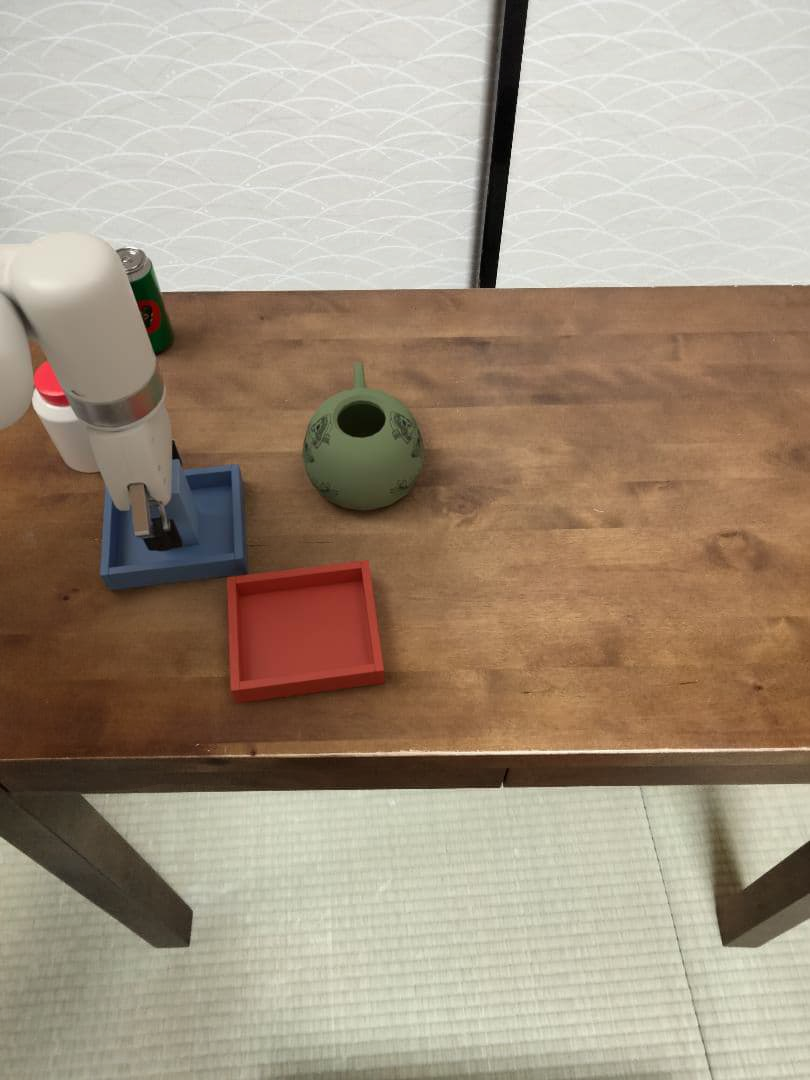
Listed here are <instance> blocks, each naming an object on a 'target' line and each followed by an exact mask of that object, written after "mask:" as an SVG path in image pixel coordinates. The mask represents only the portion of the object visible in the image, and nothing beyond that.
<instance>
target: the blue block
mask: <svg viewBox="0 0 810 1080" xmlns="http://www.w3.org/2000/svg"><path fill="white" fill-rule="evenodd" d="M183 470H184V469H183V465H182V466H181V463H180V461H179V459H175V460H172V490H171V499H170V501H169V502H168V504H167V510H168V515H169V519H172V520H174V522H175V525H176V527H177V529H178V532H179V534H180V536H181V539H182V546H187V545H196V544H199V511H198V508H197V506H196V503H195V501H194V498H193V495H192V493H191V490H190V487H189V485H188V482H187V479H186V477H185V474H184V471H183ZM147 492H148V497H151V496H150V494H149V491H148V490H147ZM149 509H150V517H151V518H160V514H159V509H158V506H151V507H149Z"/></svg>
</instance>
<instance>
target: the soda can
mask: <svg viewBox="0 0 810 1080" xmlns="http://www.w3.org/2000/svg"><path fill="white" fill-rule="evenodd" d="M114 250H115V251H116V252H117V254H118V255H119V257H120V259H121V261H122V264H123V266H124V268H125V271H126V274H127V277H128V280H129V282H130V285H131V288H132V291H133V294H134V297H135V300H136V302H137V305H138V308H139V311H140V314H141V317H142V320H143V322H144V325H145V328H146V331H147V334H148V337H149V340H150V342H151V345H152V348H153V351H154V354H158V353H162V352H163V351H165V350H166V349H168V348H169V347H170V346H171V344H172V343H173V342H174V340H175V331H174V329H173V325H172V322H171V319H170V315H169V312H168V309H167V306H166V302H165V300H164V296H163V293H162V290H161V287H160V284H159V281H158V278H157V274H156V271H155V268H154V265H153V262H152V260H151V259H150V258H149V257H148V256H147V255H146V253H145V251H144V250H143V249H140V248H139V247H135V246H124V247H119V248H118V249H117V248H116V249H114Z"/></svg>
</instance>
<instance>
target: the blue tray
mask: <svg viewBox="0 0 810 1080" xmlns="http://www.w3.org/2000/svg"><path fill="white" fill-rule="evenodd" d="M183 471H184V474H185V477H186V479H187V482H188V485H189V487H190V490H191V493H192V495H193V498H194V501H195V503H196V506H197V508H198V511H199V544H196V545H187V546H182V547H180V548H173V549H170V550H168V551H150V550H148V548H147V546H146V544H145V542H144V540H143V539H140V538H136V536H135V533H134V524H133V515H132V507H131V505H130V509H129V510H127V511H120V510H119V509H117V507H116V506H115V505H114V503H113V500H112V498H111V496H110V494H109V491H108V489H107V487H106V485H105V488H104V503H103V519H102V538H101V552H100V567H99V568H100V569H99V576H100V579H102V581H103V583H104V584H105V586H106V587H107V589H108V591H116V590H117V591H118V590H124V589H125V590H126V589H132V588H133V589H134V588H139V587H140V588H141V587H149V586H157V585H165V584H172V583H173V584H174V583H182V582H188V581H189V582H190V581H198V580H205V579H213V578H222V577H232V576H240V575H248V573H249V569H248V548H247V547H248V546H247V531H246V510H245V509H246V507H245V492H244V491H245V490H244V489H245V488H244V479H243V475H242V471H241V468H240V464H239V463H235V464H234V463H233V464H225V465H224V464H223V465H217V466H207V467H197V468H190V469H189V468H188V469H183Z"/></svg>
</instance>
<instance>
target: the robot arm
mask: <svg viewBox="0 0 810 1080" xmlns="http://www.w3.org/2000/svg"><path fill="white" fill-rule="evenodd" d="M115 250H116V249H114V247H113V246H112V245H111V244H110V243H109V242H107V241H106V240H104V239H103V238H101V237H100V236H98V235H95V234H92V233H89V232H85V231H76V230H67V231H64V230H63V231H57V232H53V233H50V234H47V235H43V236H41V237H39V238H37V239H34V240H33V241H31V242H18V243H17V242H15V243H0V431H2V430H5V429H6V428H9V427H11V426H12V425H14V424H16V423H17V422H18V421H19V420H21V418H22V417H23V416H24V415H25V414H26V412H27V411H28V409H29V408H30V406H31V403H32V397H33V392H34V390H35V385H34V369H33V363H32V354H31V349H30V344H29V343H30V341H32V342H34V343H36V344H38V346H39V347H40V349H41V350H42V352H43V354H44V356H45V358H46V361H48V362H49V364H50V366H51V368H52V370H53V372H54V374H55V376H56V378H57V380H58V382H59V384H60V386H61V388H62V390H63V392H64V394H65V396H66V398H67V400H68V402H69V404H70V406H71V407H72V410H73V412H74V414H75V415H76V417H77V418H78V419H79V420H80V421H81V422H82V423H83V424H85V425H86V426H87V431H88V436H89V440H90V444H91V447H92V450H93V454H94V456H95V459H96V462H97V465H98V467H99V470H100V472H99V473H100V475H101V477H102V481H103V482H104V484H105V486H106V487H107V489H108V491H109V494H110V496H111V498H112V500H113V503H114V505H115V506H116V507H117V509H119V510H120V511H127V510H129V509H130V505H131V507H132V515H133V524H134V533H135V536H136V538H140V539H143V540H144V542H145V544H146V546H147V548H148V550H150V551H168V550H170V549H173V548H180V547H182V539H181V536H180V534H179V532H178V529H177V527H176V525H175V522H174V520H172V519H169V515H168V510H167V504H168V502H169V501H170V499H171V490H172V460H175V459H179V461H180V463H181V466H182V467H183V461H182V458H181V456H180V453H179V450H178V447H177V445H176V441H175V440H174V439H173V433H172V431H173V430H172V424H171V420H170V416H169V413H168V409H167V406H166V403H165V399H166V395H167V386H166V382H165V380H164V376H163V374H162V371H161V368H160V365H159V362H158V360H157V357H156V353H154V351H153V348H152V345H151V342H150V340H149V337H148V334H147V331H146V328H145V325H144V322H143V320H142V317H141V314H140V311H139V308H138V305H137V302H136V300H135V297H134V294H133V291H132V288H131V285H130V282H129V280H128V277H127V274H126V271H125V268H124V266H123V264H122V261H121V259H120V257H119V255H118V254H117V252H116V251H115ZM147 490H148V491H149V494H150V496H151V497H148V492H147ZM151 506H158V509H159V514H160V518H151V517H150V509H149V507H151Z"/></svg>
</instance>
